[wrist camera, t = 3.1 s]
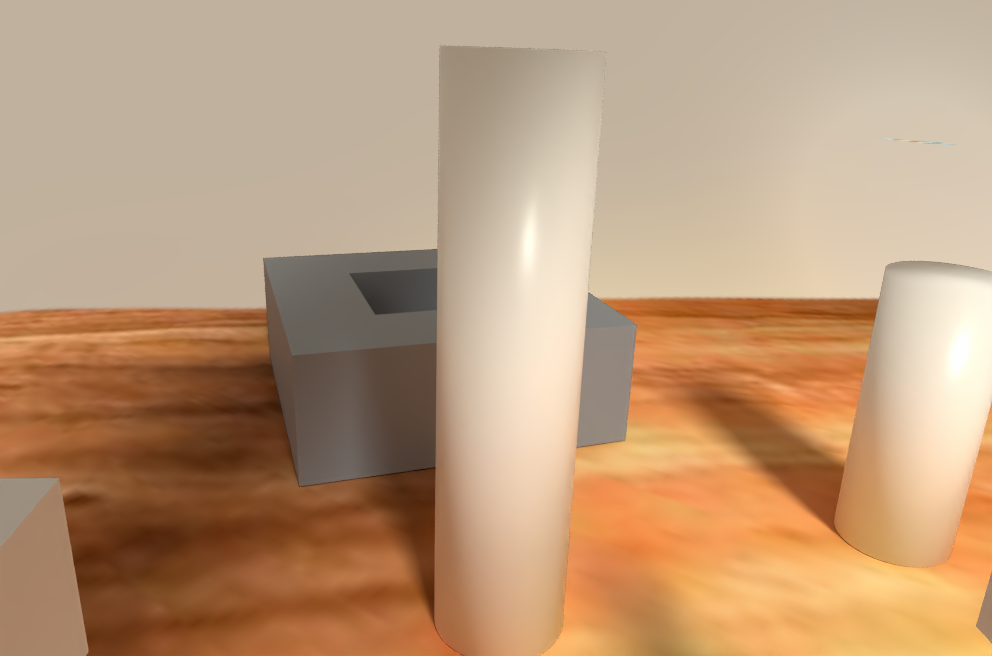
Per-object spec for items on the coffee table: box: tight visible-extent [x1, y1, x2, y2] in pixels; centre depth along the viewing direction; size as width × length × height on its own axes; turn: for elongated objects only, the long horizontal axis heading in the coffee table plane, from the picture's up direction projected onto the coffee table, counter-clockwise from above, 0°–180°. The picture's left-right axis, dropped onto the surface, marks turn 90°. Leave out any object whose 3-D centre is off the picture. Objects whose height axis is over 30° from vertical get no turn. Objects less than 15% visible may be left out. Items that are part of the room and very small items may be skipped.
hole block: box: [263, 249, 637, 486], centre depth 35 cm, size 13×13×5 cm
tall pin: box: [434, 46, 606, 656], centre depth 20 cm, size 4×4×15 cm
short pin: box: [834, 261, 992, 568], centre depth 25 cm, size 4×4×9 cm
